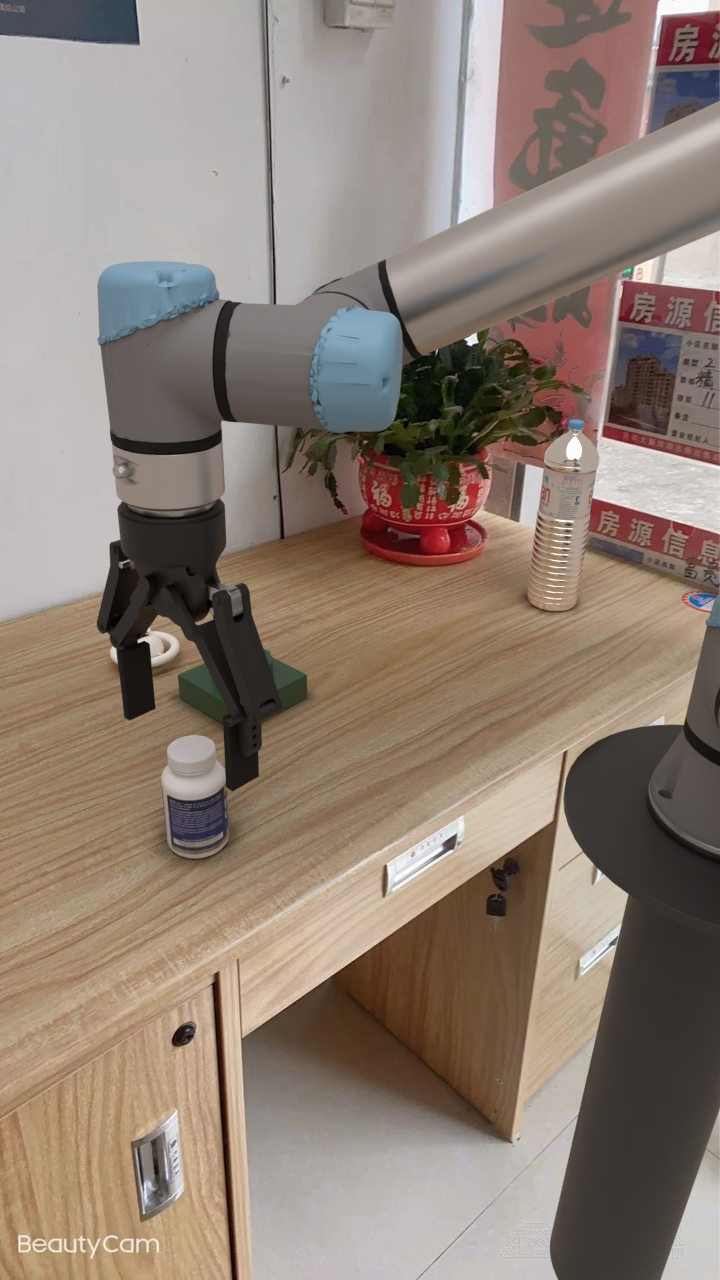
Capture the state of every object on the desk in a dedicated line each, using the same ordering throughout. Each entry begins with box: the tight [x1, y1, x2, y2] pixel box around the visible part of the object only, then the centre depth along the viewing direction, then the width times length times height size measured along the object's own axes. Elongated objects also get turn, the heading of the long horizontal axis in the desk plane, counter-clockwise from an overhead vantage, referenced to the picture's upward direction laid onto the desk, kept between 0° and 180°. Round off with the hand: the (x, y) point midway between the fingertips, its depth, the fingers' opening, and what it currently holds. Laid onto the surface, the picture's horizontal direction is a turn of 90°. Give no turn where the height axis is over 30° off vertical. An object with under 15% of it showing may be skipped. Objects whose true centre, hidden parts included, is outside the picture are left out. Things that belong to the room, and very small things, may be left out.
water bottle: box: [526, 418, 600, 612], centre depth 116 cm, size 7×7×25 cm
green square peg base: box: [177, 647, 308, 725], centre depth 97 cm, size 10×10×5 cm
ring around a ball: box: [109, 626, 181, 668], centre depth 103 cm, size 8×6×8 cm
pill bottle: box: [160, 734, 230, 860], centre depth 75 cm, size 5×5×10 cm
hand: (188, 746), depth 73 cm, fingers open, 13 cm apart
